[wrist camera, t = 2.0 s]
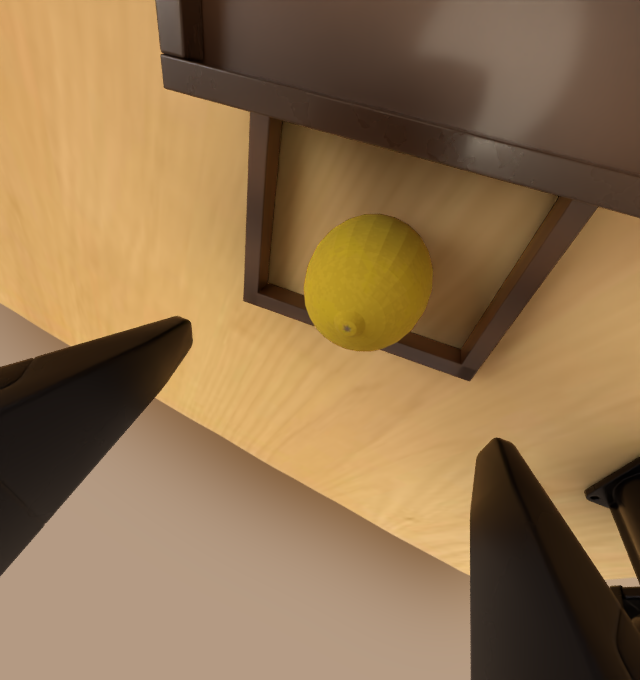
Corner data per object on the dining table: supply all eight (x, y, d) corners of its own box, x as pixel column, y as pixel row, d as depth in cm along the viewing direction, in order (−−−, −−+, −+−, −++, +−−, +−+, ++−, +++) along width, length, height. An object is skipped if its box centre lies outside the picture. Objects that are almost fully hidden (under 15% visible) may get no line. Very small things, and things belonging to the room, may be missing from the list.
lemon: (459, 243, 16) (466, 330, 10) (387, 311, 20) (360, 406, 13) (375, 170, 15) (326, 217, 9) (316, 255, 19) (253, 329, 13)
